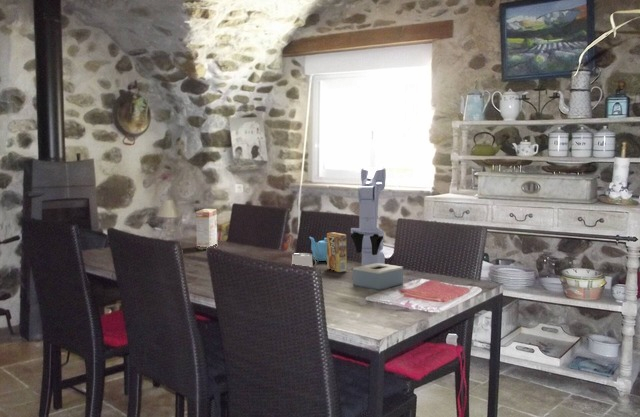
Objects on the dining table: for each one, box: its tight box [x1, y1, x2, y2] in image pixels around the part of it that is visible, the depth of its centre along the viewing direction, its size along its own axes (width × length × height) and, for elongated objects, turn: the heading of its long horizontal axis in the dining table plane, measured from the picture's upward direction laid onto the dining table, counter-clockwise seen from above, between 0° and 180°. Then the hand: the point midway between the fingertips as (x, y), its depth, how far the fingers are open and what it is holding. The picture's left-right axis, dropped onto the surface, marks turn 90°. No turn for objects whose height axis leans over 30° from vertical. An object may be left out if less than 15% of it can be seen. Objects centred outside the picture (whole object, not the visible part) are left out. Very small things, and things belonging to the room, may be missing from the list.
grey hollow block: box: [352, 263, 404, 291], centre depth 226 cm, size 14×12×6 cm
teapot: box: [308, 236, 327, 263], centre depth 277 cm, size 15×15×10 cm
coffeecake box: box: [195, 208, 218, 248], centre depth 313 cm, size 15×7×20 cm, turn 174°
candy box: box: [326, 231, 348, 273], centre depth 254 cm, size 9×4×15 cm, turn 33°
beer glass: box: [291, 252, 313, 267], centre depth 203 cm, size 7×7×15 cm
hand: (366, 253), depth 233 cm, fingers open, 7 cm apart
